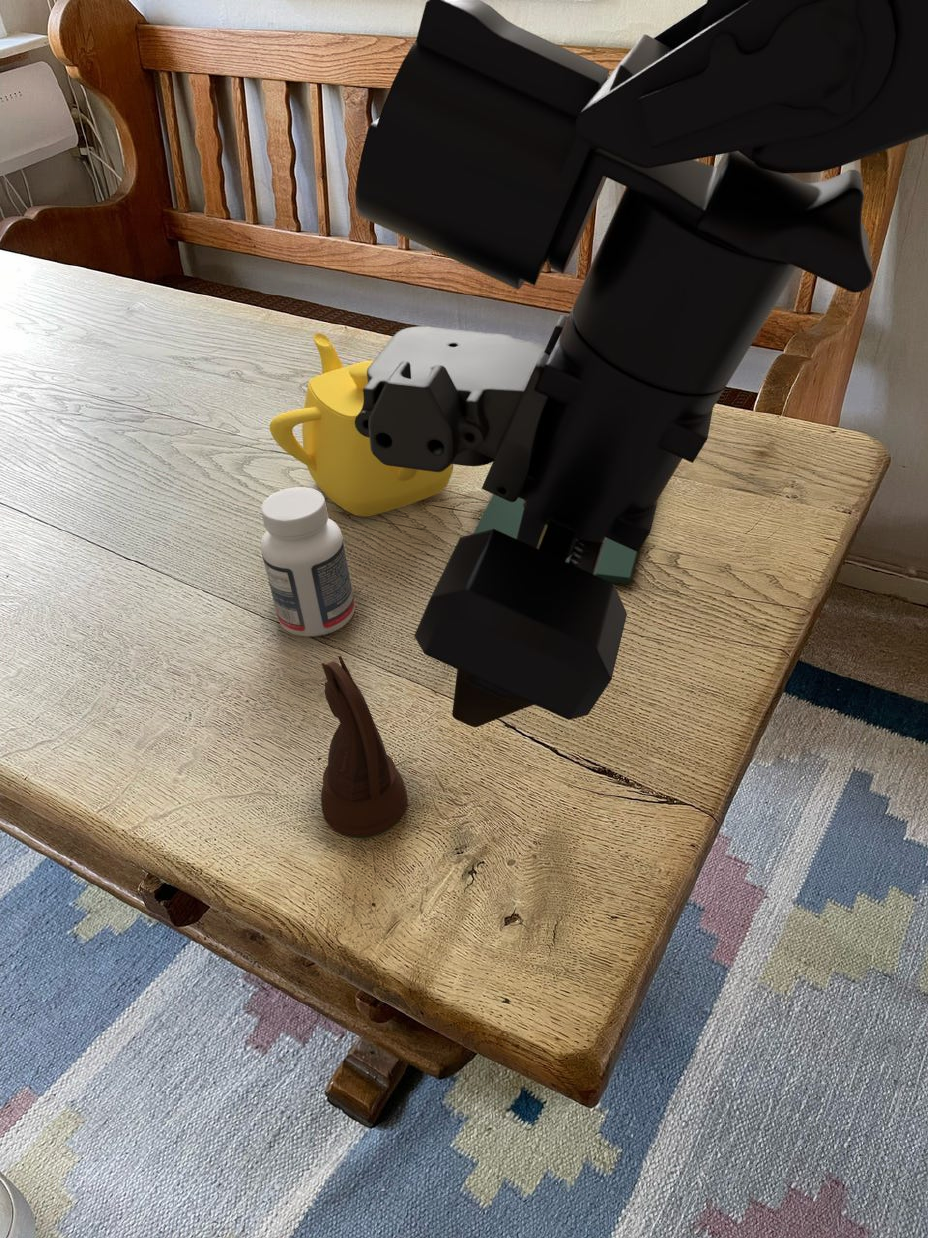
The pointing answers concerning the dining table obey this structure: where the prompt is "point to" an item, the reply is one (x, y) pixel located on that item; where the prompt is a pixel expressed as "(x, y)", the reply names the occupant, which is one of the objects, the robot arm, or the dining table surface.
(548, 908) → the dining table surface
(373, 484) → the teapot
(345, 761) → the chess piece
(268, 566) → the pill bottle
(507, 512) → the play mat
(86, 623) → the dining table surface
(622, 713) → the dining table surface
